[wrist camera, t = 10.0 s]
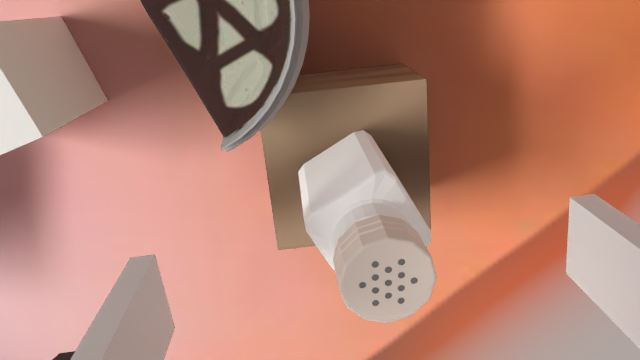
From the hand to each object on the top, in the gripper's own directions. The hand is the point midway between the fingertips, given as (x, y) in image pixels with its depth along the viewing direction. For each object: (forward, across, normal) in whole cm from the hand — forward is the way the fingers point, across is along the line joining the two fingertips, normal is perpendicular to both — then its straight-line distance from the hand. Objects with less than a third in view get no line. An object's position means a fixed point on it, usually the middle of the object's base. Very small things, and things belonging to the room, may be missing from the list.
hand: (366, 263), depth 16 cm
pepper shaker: (+10, 0, -1) cm, 10 cm away
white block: (+16, -16, +6) cm, 23 cm away
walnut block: (+16, 0, 0) cm, 16 cm away
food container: (+16, -4, +9) cm, 19 cm away
